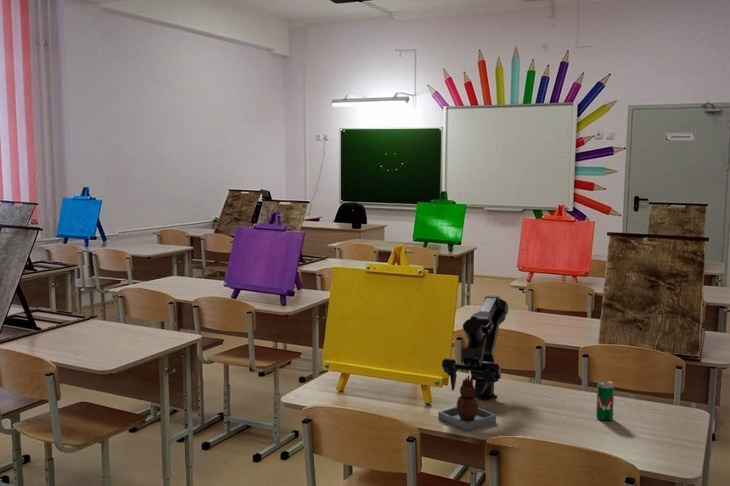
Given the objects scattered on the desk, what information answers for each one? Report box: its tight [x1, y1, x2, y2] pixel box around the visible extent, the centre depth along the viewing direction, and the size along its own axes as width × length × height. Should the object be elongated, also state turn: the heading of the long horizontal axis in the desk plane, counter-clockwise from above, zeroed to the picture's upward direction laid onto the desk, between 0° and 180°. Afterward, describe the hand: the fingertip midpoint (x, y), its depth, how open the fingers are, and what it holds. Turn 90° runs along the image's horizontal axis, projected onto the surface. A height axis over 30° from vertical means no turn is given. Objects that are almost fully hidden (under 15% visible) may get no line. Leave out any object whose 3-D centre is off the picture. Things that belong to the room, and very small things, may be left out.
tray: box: [437, 406, 497, 433], centre depth 217 cm, size 13×13×2 cm
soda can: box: [595, 380, 615, 422], centre depth 217 cm, size 5×5×12 cm
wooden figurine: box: [456, 374, 479, 421], centre depth 216 cm, size 7×6×15 cm
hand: (466, 392), depth 215 cm, fingers open, 9 cm apart
